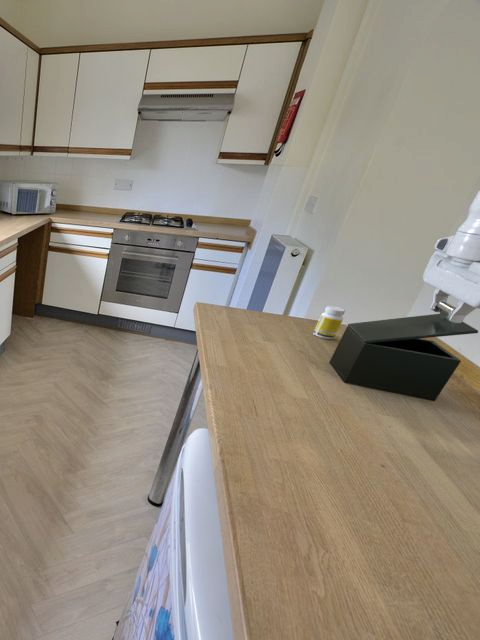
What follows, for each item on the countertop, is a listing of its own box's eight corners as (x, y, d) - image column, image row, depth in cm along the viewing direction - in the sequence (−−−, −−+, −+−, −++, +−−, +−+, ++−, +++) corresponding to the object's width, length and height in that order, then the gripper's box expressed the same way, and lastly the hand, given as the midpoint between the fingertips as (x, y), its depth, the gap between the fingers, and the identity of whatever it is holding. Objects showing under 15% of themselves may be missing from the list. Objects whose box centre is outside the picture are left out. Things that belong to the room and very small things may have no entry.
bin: (410, 378, 95) (433, 340, 91) (434, 401, 86) (461, 360, 82) (328, 362, 101) (347, 326, 96) (344, 382, 92) (364, 343, 88)
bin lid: (447, 315, 88) (448, 296, 87) (478, 333, 80) (479, 312, 78) (347, 326, 96) (347, 308, 95) (365, 343, 88) (365, 324, 86)
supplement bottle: (337, 340, 114) (351, 312, 110) (321, 339, 113) (334, 311, 110) (324, 332, 118) (337, 305, 114) (308, 332, 118) (320, 304, 114)
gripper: (546, 263, 69) (498, 337, 75) (472, 241, 86) (438, 303, 92) (495, 259, 71) (452, 331, 77) (433, 238, 88) (401, 299, 94)
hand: (444, 316), depth 85 cm, fingers closed on bin lid, 5 cm apart
